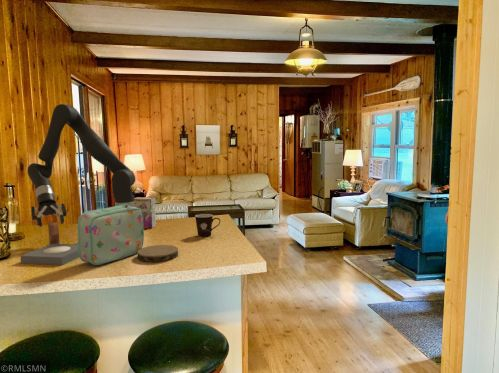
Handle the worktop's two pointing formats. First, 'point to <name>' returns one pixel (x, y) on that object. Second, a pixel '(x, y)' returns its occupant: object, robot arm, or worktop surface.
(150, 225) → the candy bar box
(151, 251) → the wood slice
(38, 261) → the plate
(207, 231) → the coffee mug
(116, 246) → the lunch box
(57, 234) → the handle
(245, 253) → the worktop surface
